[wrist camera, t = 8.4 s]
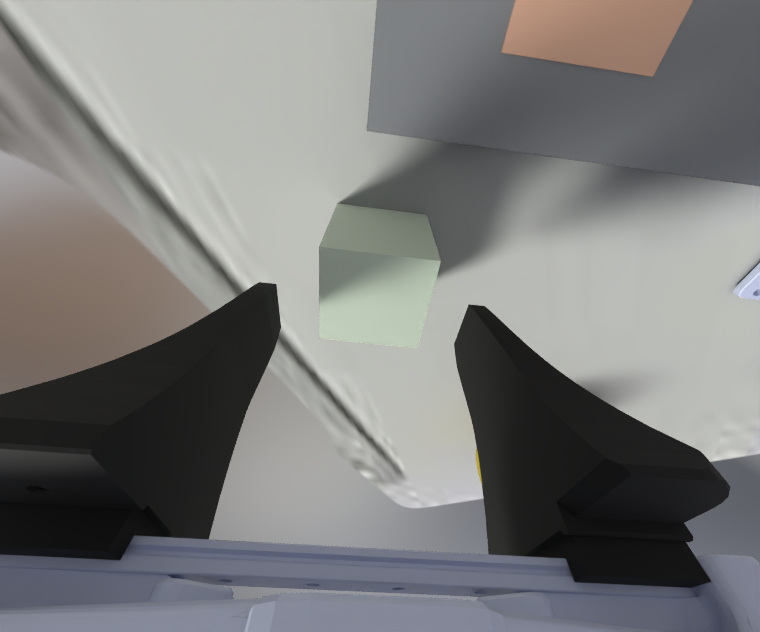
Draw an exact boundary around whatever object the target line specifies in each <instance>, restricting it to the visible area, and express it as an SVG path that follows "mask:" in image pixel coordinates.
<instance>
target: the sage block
mask: <svg viewBox="0 0 760 632" xmlns="http://www.w3.org/2000/svg"><path fill="white" fill-rule="evenodd" d="M440 263H441V259H440V256H439V253H438V250H437V246H436V243H435V240H434V237H433V233H432V230H431V227H430V224H429V220H428V217H427V215H425V214H417V213H410V212H402V211H394V210H386V209H378V208H371V207H363V206H355V205H347V204H339V203H337V206H336V208H335V210H334V213H333V215H332V217H331V220H330V222H329V225H328V227H327V229H326V232H325V234H324V236H323V239H322V241H321V244H320V246H319V329H320V339H328V340H338V341H348V342H358V343H368V344H378V345H388V346H397V347H407V348H418V344H419V341H420V337H421V333H422V330H423V326H424V322H425V318H426V315H427V311H428V307H429V304H430V300H431V296H432V293H433V289H434V285H435V282H436V278H437V274H438V271H439V267H440Z"/></svg>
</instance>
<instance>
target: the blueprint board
mask: <svg viewBox="0 0 760 632" xmlns="http://www.w3.org/2000/svg"><path fill="white" fill-rule="evenodd" d="M367 131H371V132H378V133H385V134H392V135H400V136H407V137H414V138H421V139H428V140H435V141H442V142H449V143H456V144H464V145H471V146H478V147H485V148H492V149H499V150H506V151H513V152H520V153H528V154H535V155H542V156H549V157H556V158H563V159H570V160H577V161H584V162H592V163H599V164H606V165H613V166H620V167H627V168H634V169H641V170H648V171H656V172H663V173H670V174H677V175H684V176H691V177H698V178H705V179H712V180H720V181H727V182H734V183H741V184H748V185H755V186H760V0H377V8H376V21H375V33H374V46H373V59H372V72H371V84H370V97H369V110H368V123H367Z"/></svg>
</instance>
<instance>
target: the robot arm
mask: <svg viewBox="0 0 760 632" xmlns="http://www.w3.org/2000/svg"><path fill="white" fill-rule="evenodd" d="M734 294H735V295H737V296H739V297H741V298H747V299H755V300H760V263H759V264H758V265H757V266H756V267H755V268H754V269H753V270H752V271H751V272H750V273H749V274H748V275H747V276H746V277H745V278H744V279H743V280H742V281H741V282H740V283H739V284H738V285H737V286H736V287H735V289H734ZM280 329H281V324H280V314H279V305H278V296H277V287H276V284H270V283H261V282H259V283H257V284H256V285H254V286H252V287H251V288H249V289H248V290H246V291H245V292H243V293H242V294H240V295H239V296H237V297H236V298H234V299H233V300H231V301H230V302H228V303H227V304H225V305H224V306H222V307H221V308H219V309H218V310H216V311H214V312H213V313H211V314H209V315H208V316H206V317H204V318H202V319H201V320H199V321H198V322H196V323H194V324H192V325H190V326H189V327H187V328H185V329H183V330H181V331H179V332H177V333H175V334H173V335H171V336H169V337H167V338H165V339H163V340H161V341H159V342H156V343H154V344H152V345H149V346H147V347H145V348H142V349H140V350H137V351H135V352H132V353H130V354H127V355H125V356H123V357H120V358H118V359H115V360H112V361H109V362H107V363H104V364H101V365H98V366H95V367H93V368H89V369H86V370H83V371H81V372H77V373H74V374H71V375H68V376H65V377H62V378H58V379H55V380H51V381H48V382H44V383H41V384H37V385H34V386H30V387H27V388H23V389H20V390H16V391H13V392H9V393H5V394H1V395H0V632H760V565H759V563H758V562H757V560H756V559H754V558H752V557H750V556H733V555H715V554H710V555H709V554H708V555H700V556H694V554H693V553H692V551H691V549H690V548H689V546H688V545H687V543H686V542H690V541H693V536H692V534H691V533H690V531H689V530H688V529H687V527H686V525H685V524H684V522H686V521H688V520H690V519H692V518H694V517H696V516H698V515H700V514H702V513H704V512H706V511H708V510H710V509H712V508H714V507H716V506H717V505H719V504H721V503H722V502H723V501H724V500H725V499H726V498H727V497H728V495H729V491H730V486H729V485H728V483H727V482H726V480H725V479H724V478H723V477H722V476H721V475H720V473H719V472H718V471H717V470H716V469H715V467H714V466H713V465H712V464H711V463H710V462H709V460H708V459H707V458H706V457H705V456H704V455H703V454H702V453H701V452H700V451H699V450H697V449H695V448H693V447H691V446H689V445H687V444H684V443H682V442H680V441H678V440H676V439H674V438H672V437H670V436H668V435H666V434H664V433H662V432H660V431H657V430H655V429H653V428H651V427H649V426H647V425H646V424H644V423H642V422H640V421H638V420H636V419H635V418H633V417H631V416H629V415H627V414H625V413H623V412H622V411H620V410H618V409H616V408H615V407H613V406H611V405H610V404H608V403H606V402H605V401H603V400H601V399H600V398H598V397H597V396H595V395H593V394H592V393H590V392H589V391H587V390H585V389H584V388H582V387H581V386H579V385H578V384H576V383H575V382H573V381H572V380H571V379H569V378H568V377H566V376H565V375H564V374H562V373H561V372H560V371H558V370H557V369H555V368H554V367H553V366H552V365H550V364H549V363H548V362H546V361H545V360H544V359H543V358H542V357H540V356H539V355H538V354H537V353H536V352H534V351H533V350H532V349H531V348H530V347H529V346H527V345H526V344H525V343H524V342H523V341H522V340H521V339H520V338H519V337H517V336H516V335H515V334H514V333H513V332H512V331H511V330H510V329H509V328H508V327H507V326H506V325H505V324H504V323H503V322H502V321H500V320H499V319H498V318H497V317H496V316H495V315H494V314H493V313H492V312H491V311H490V310H489V309H487V308H486V307H485V306H478V305H468V308H467V311H466V314H465V316H464V319H463V322H462V324H461V327H460V330H459V333H458V335H457V338H456V341H455V343H454V346H455V355H456V363H457V368H458V372H459V376H460V380H461V383H462V387H463V391H464V394H465V398H466V401H467V405H468V408H469V412H470V416H471V419H472V424H473V428H474V433H475V439H476V445H477V451H478V458H479V465H480V472H481V479H482V488H483V496H484V505H485V514H486V526H487V538H488V551H489V554H470V553H451V552H433V551H414V550H395V549H377V548H356V547H338V546H320V545H302V544H301V545H300V544H282V543H263V542H245V541H227V540H209V535H210V532H211V528H212V524H213V520H214V516H215V513H216V509H217V505H218V501H219V497H220V494H221V491H222V487H223V484H224V480H225V477H226V473H227V470H228V467H229V463H230V460H231V457H232V454H233V450H234V447H235V444H236V441H237V438H238V435H239V432H240V428H241V426H242V423H243V420H244V417H245V414H246V411H247V409H248V406H249V404H250V401H251V399H252V397H253V395H254V393H255V391H256V388H257V386H258V384H259V382H260V380H261V378H262V375H263V373H264V371H265V369H266V367H267V365H268V362H269V360H270V358H271V356H272V354H273V351H274V349H275V346H276V342H277V339H278V336H279V332H280ZM218 585H226V586H249V587H272V588H295V589H317V590H339V591H362V592H385V593H408V594H429V595H452V596H475V597H478V599H477V601H471V600H462V599H447V598H425V597H402V596H400V597H399V596H378V595H356V594H355V595H354V594H333V593H280V594H275V595H270V596H264V597H262V598H253V599H234V598H233V591H232V589H231V588H229V587H224V586H218Z"/></svg>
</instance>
